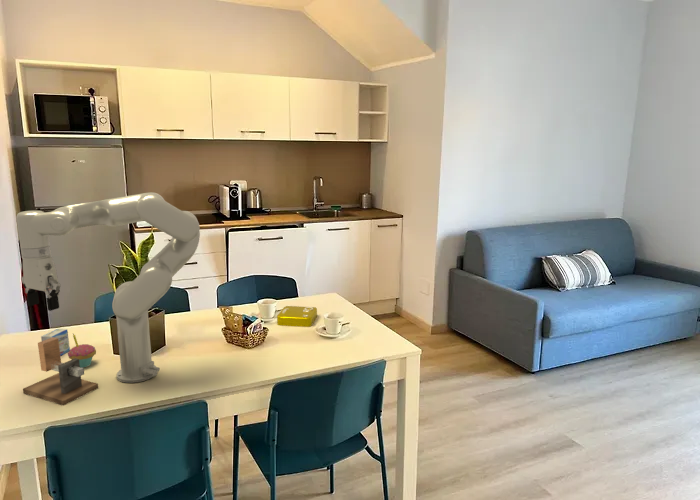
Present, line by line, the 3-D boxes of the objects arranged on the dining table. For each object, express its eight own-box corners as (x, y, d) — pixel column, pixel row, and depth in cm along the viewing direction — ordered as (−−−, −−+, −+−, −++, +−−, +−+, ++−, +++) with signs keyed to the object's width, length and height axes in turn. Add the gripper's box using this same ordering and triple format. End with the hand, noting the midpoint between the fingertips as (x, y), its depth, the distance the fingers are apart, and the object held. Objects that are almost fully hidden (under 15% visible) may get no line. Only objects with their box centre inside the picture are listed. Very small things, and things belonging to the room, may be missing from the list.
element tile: (285, 314, 230) (285, 304, 229) (317, 316, 228) (317, 306, 227) (275, 326, 216) (275, 315, 215) (310, 328, 214) (310, 317, 213)
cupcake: (69, 372, 172) (65, 338, 169) (69, 362, 179) (65, 330, 177) (97, 367, 176) (94, 334, 173) (96, 357, 183) (93, 326, 181)
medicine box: (54, 359, 181) (51, 336, 180) (43, 358, 182) (40, 335, 181) (70, 351, 189) (67, 328, 187) (60, 350, 190) (57, 328, 188)
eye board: (98, 387, 161) (94, 357, 159) (63, 405, 150) (59, 372, 148) (59, 377, 168) (55, 347, 166) (23, 393, 157) (18, 361, 155)
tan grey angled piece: (88, 372, 156) (85, 344, 154) (74, 379, 152) (70, 350, 150) (56, 363, 162) (52, 337, 160) (41, 370, 157) (37, 342, 155)
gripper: (66, 252, 152) (73, 307, 156) (31, 247, 160) (38, 299, 163) (41, 257, 145) (49, 315, 149) (6, 252, 153) (14, 306, 157)
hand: (43, 307), depth 156 cm, fingers open, 9 cm apart
